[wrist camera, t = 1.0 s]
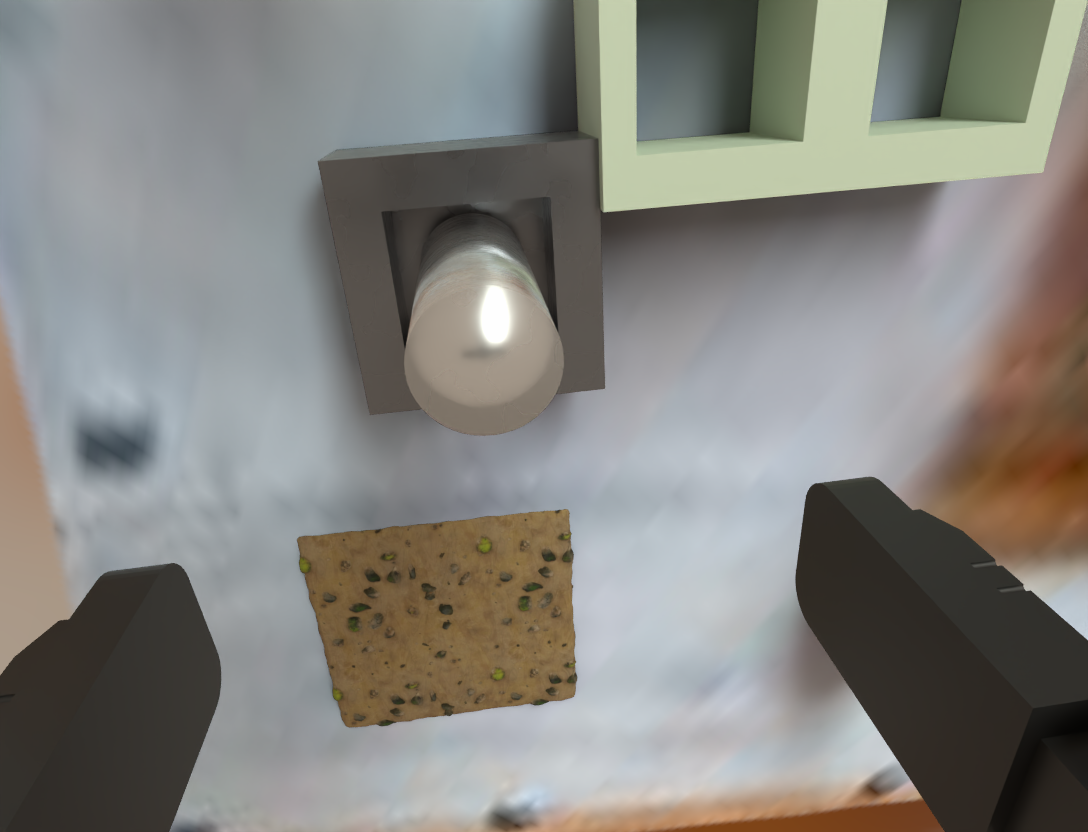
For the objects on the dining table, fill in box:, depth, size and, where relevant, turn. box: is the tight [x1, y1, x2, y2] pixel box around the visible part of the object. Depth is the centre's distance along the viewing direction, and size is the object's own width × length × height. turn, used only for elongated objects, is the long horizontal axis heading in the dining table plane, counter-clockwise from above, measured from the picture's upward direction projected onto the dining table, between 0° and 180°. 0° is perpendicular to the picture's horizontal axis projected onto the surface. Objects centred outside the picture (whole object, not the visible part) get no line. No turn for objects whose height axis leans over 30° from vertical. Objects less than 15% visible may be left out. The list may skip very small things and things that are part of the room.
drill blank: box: [404, 213, 564, 436], centre depth 19 cm, size 4×4×9 cm
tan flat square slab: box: [297, 509, 577, 727], centre depth 31 cm, size 12×12×1 cm
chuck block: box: [318, 130, 605, 415], centre depth 22 cm, size 8×8×4 cm
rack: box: [573, 0, 1088, 212], centre depth 20 cm, size 8×14×4 cm, turn 94°
